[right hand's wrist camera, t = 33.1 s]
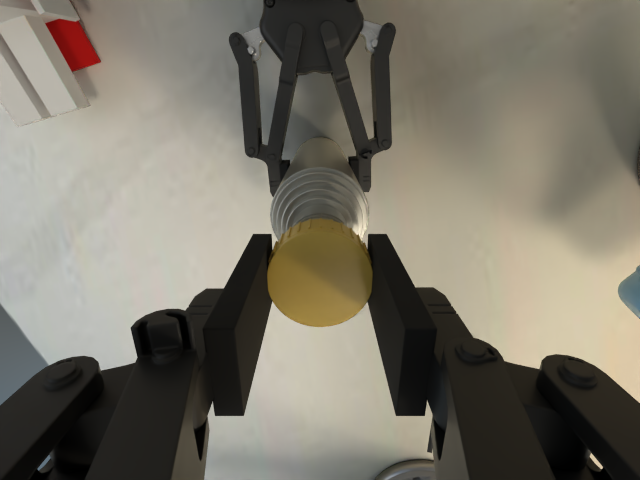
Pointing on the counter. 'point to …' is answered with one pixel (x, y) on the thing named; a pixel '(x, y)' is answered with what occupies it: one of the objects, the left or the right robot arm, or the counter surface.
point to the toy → (41, 59)
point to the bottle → (319, 190)
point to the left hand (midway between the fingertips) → (322, 225)
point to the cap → (319, 273)
